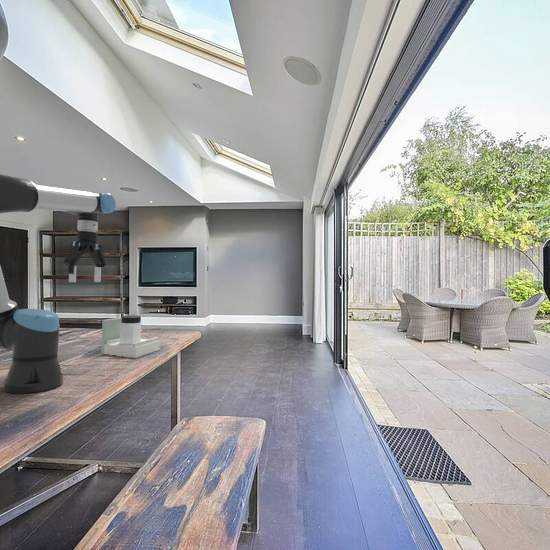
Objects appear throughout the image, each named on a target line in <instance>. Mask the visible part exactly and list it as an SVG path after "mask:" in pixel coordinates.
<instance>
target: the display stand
mask: <svg viewBox="0 0 550 550" xmlns="http://www.w3.org/2000/svg"><path fill="white" fill-rule="evenodd" d="M101 323H102V325H101V326H102V328H101V348H100V349H101V351H100V355H103V354H109V355H108V356H112V355H116V357H122V356H123V357H124V358H131V357H132V358H131V359H136V358H140V357H143V356H146V355H149V354H151V353H155V352H158V351H160V349H161V347H160V346H161V340H159V336H158V337H157V336H155V337H151V338H149V339H148V338H147V339H144V338H141V341H140V342H136V343H132V345H123V344H121V343H120V324H121V317H116V318H109V319H102V322H101ZM123 357H122V358H123Z"/></svg>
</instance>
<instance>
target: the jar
mask: <svg viewBox="0 0 550 550" xmlns="http://www.w3.org/2000/svg"><path fill="white" fill-rule="evenodd" d="M120 318H121V324H120V343H121V344H123V345H132V343H136V342H140V341H141V339H142V322H141V321H142V317H141V316H140V315H122V316H121V317H120Z"/></svg>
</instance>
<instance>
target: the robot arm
mask: <svg viewBox="0 0 550 550" xmlns="http://www.w3.org/2000/svg"><path fill="white" fill-rule="evenodd" d="M116 206H117V204H116V198H115V197H114V195H112V194H111V193H108V192H107V193H105V192H101V193H100V192H93V191H92V192H90V191H85V190H79V189H78V190H76V189H70V188H64V187H58V186H50V185H44V184H43V185H41V184H36V183H34V182H33V181H32V180H30V179H26V178H20V177H15V176H9V175H5V174H1V173H0V214H6V213H7V214H8V213H18V212H19V213H21V212H22V213H29V212H32V211H34V210H43V211H45V210H46V211H60V212H62V213H68V214H71V215H76V216H77V232H76V233H77V234H76V239H77V241H76V240H74V241H71V245H70V248H69V250H68V252H67V255H66V256H65V258H64V261H63V263H64V264H65V265H66V266H68V267H67V269H68V270H67V272H68V283H76V282H77V265H76V264H77V263H78V261H80V258H81V257H82V256H83V255H86V254H87V255H89V256H90V257H91V259H92V262H93V263H94V265H95V266H96V267H95V266H94V278H93V281H94V283H101V281H102V271H103V268H105V267H106V265H107V264H106V261H105V257H104V254H103V251H102V244H96V242H98V231H99V230H98V228H99V214H112V213H113V212H114V211H115V210H116ZM60 326H61V325H60V318H59V315H58V314H57V313H56V312H55V311H51V310H48V309H40V308H39V309H36V308H18V304H17V302H16V301H14V300H12V299H10V297H9V293H8V288H7V285H6V282H5V278H4V274H3V270H2V267H1V265H0V350H6V351H12V354H11V355H12V357H11V358H12V359H11V361H12V362H11V365H10V367H9V369H8V371H7V372H8V373H7V375H6V378H5V380H4V381H3V391H4V392H5V393H9V394H32V393H39V392H44V391H49V390H51V389H56V388H58V387H60V386H62V384H63V383H64V375H63V372H62V370H61V367H60V363H59V359H58V356H59V355H58V354H59V353H58V352H59V338H60Z"/></svg>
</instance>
